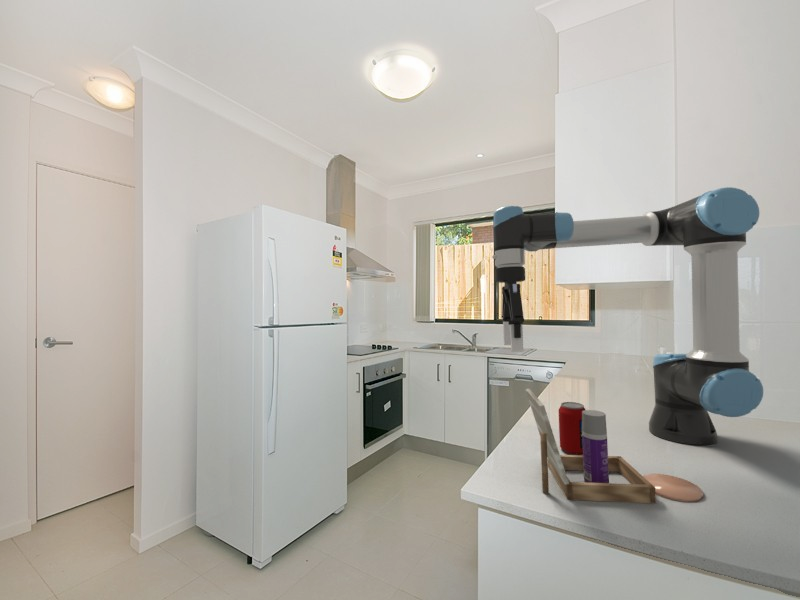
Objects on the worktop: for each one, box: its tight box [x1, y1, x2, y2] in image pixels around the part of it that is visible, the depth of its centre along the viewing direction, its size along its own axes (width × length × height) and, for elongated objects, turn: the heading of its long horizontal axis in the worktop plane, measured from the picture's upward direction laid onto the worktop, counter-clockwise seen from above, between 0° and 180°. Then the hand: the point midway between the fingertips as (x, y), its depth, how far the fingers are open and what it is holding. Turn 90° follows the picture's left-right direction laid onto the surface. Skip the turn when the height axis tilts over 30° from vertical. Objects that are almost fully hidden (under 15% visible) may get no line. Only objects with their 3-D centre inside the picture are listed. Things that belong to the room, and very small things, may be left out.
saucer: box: [642, 473, 704, 503], centre depth 73 cm, size 10×10×1 cm
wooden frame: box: [525, 388, 657, 504], centre depth 77 cm, size 20×14×19 cm
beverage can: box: [558, 401, 586, 455], centre depth 93 cm, size 7×7×12 cm
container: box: [582, 409, 610, 483], centre depth 77 cm, size 5×5×15 cm
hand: (512, 348), depth 94 cm, fingers open, 13 cm apart
